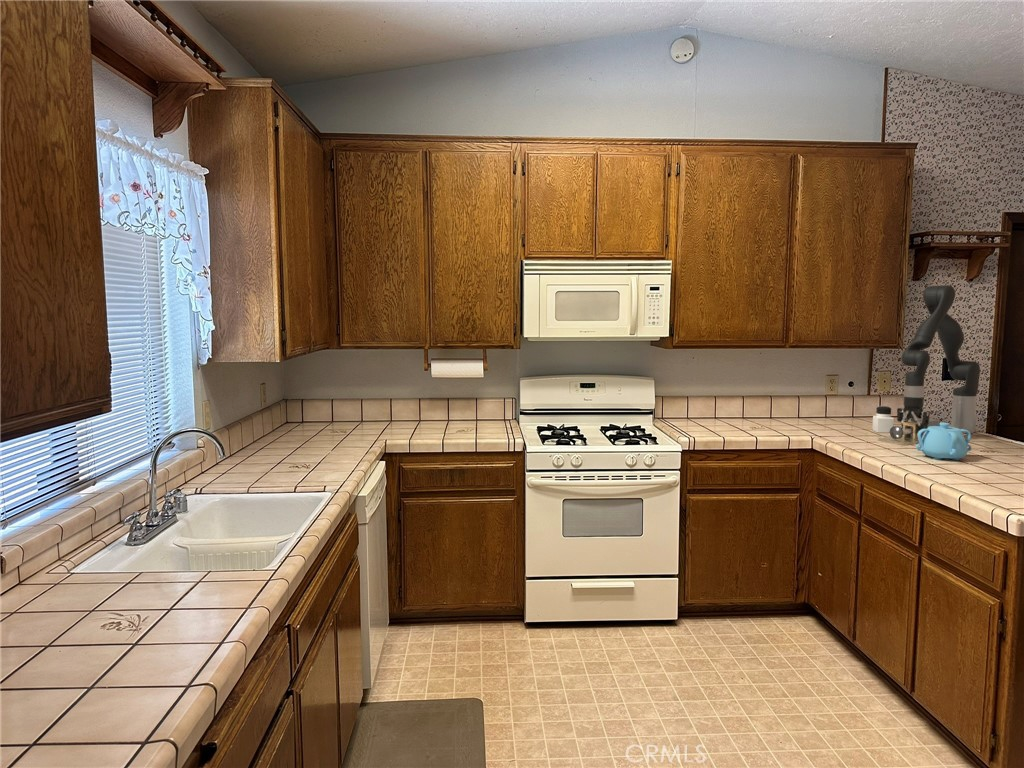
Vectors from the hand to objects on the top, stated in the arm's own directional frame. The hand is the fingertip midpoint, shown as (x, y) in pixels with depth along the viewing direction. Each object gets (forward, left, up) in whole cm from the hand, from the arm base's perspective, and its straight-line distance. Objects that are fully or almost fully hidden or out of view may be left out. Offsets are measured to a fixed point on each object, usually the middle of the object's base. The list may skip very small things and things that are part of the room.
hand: (912, 433), depth 293 cm
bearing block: (0, 0, -3) cm, 3 cm away
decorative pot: (+20, +29, -4) cm, 35 cm away
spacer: (0, 0, -2) cm, 2 cm away
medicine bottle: (-8, -21, -4) cm, 23 cm away
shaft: (+1, 0, -2) cm, 2 cm away
